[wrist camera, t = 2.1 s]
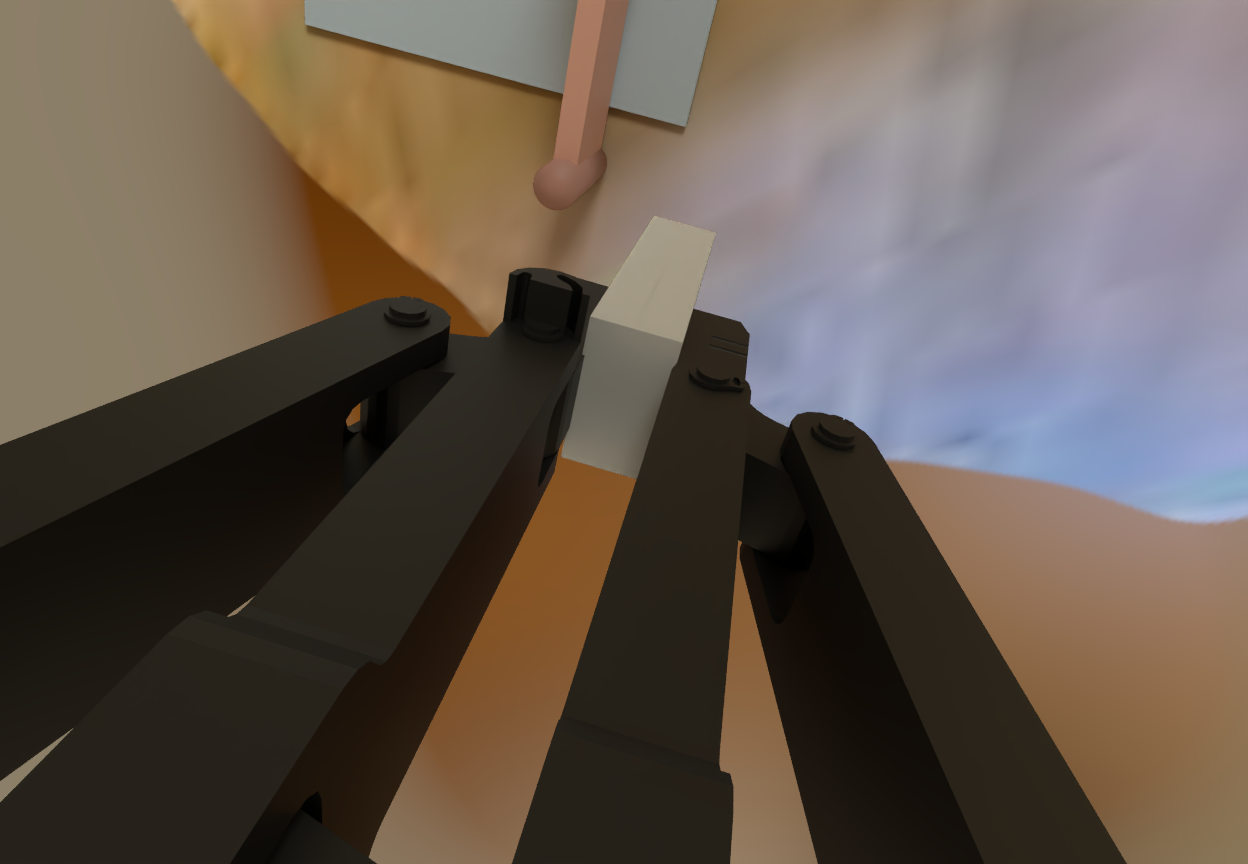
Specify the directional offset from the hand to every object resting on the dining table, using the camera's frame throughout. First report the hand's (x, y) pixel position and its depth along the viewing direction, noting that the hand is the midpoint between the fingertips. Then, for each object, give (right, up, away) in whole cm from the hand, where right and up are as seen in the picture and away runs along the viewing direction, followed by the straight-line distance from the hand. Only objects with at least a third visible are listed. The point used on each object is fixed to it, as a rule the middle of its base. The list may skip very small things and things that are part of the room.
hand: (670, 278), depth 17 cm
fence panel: (-2, +12, +13) cm, 18 cm away
